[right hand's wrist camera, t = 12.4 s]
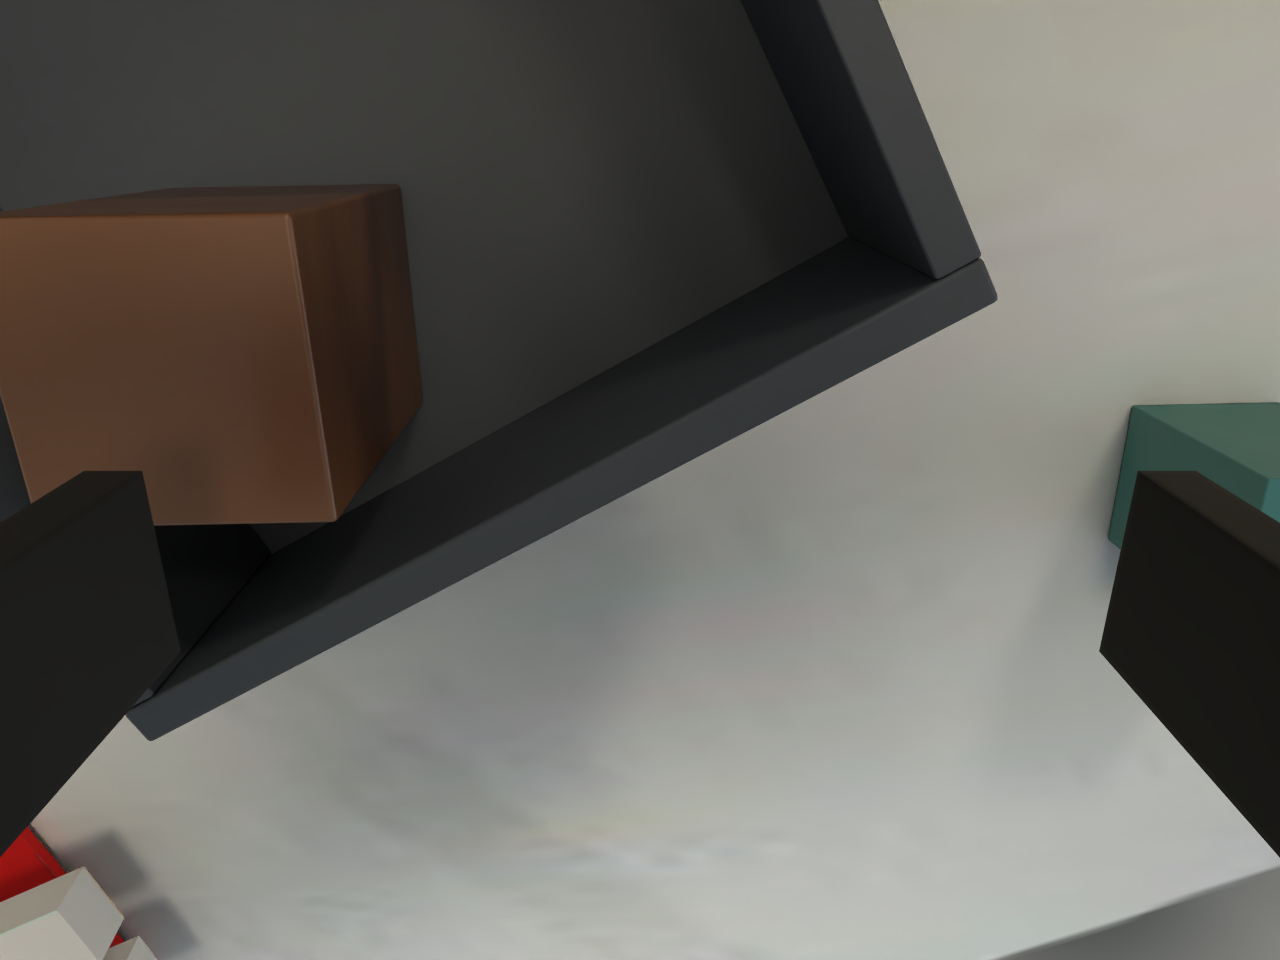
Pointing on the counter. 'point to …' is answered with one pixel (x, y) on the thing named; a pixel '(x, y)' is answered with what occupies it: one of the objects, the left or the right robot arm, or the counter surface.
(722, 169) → the box
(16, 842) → the toy
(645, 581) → the counter surface
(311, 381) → the walnut block
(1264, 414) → the teal block
